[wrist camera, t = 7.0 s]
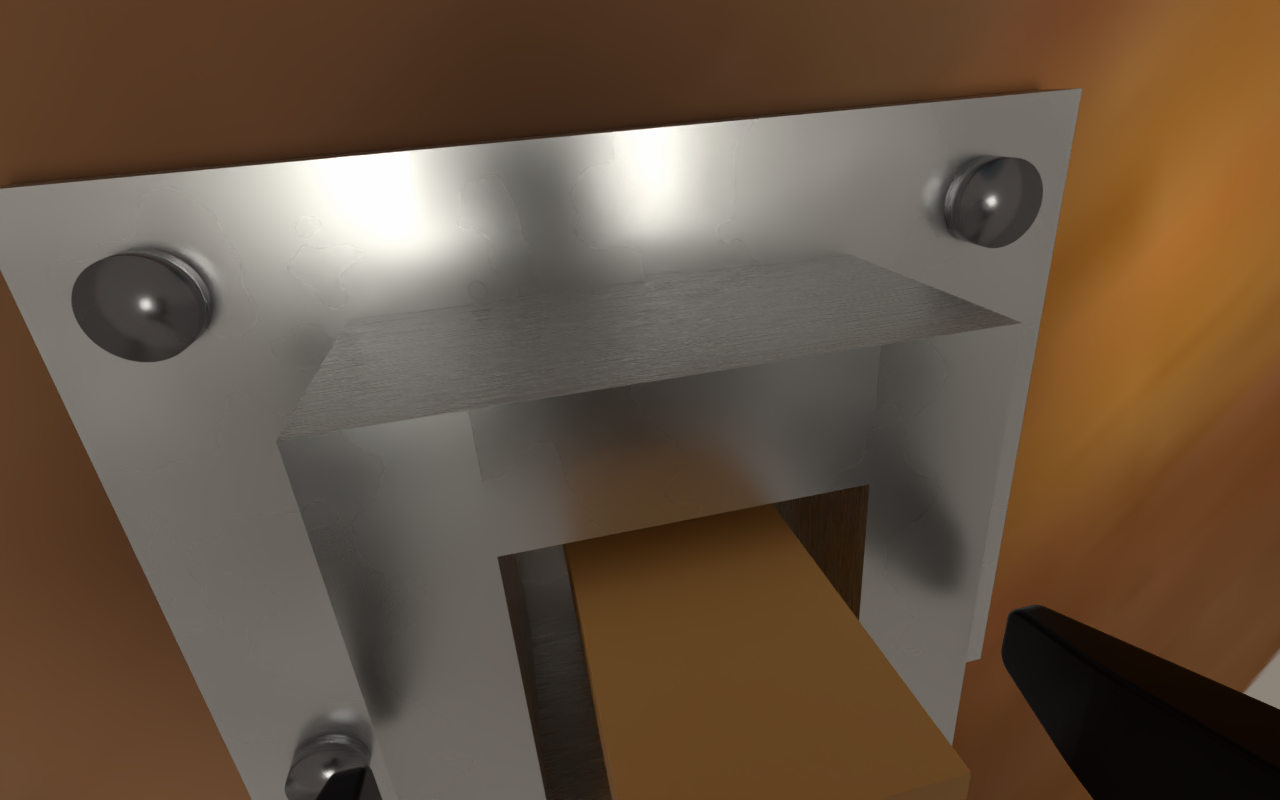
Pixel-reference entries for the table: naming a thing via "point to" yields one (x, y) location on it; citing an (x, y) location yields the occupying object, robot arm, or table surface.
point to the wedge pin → (743, 672)
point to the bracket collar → (542, 404)
